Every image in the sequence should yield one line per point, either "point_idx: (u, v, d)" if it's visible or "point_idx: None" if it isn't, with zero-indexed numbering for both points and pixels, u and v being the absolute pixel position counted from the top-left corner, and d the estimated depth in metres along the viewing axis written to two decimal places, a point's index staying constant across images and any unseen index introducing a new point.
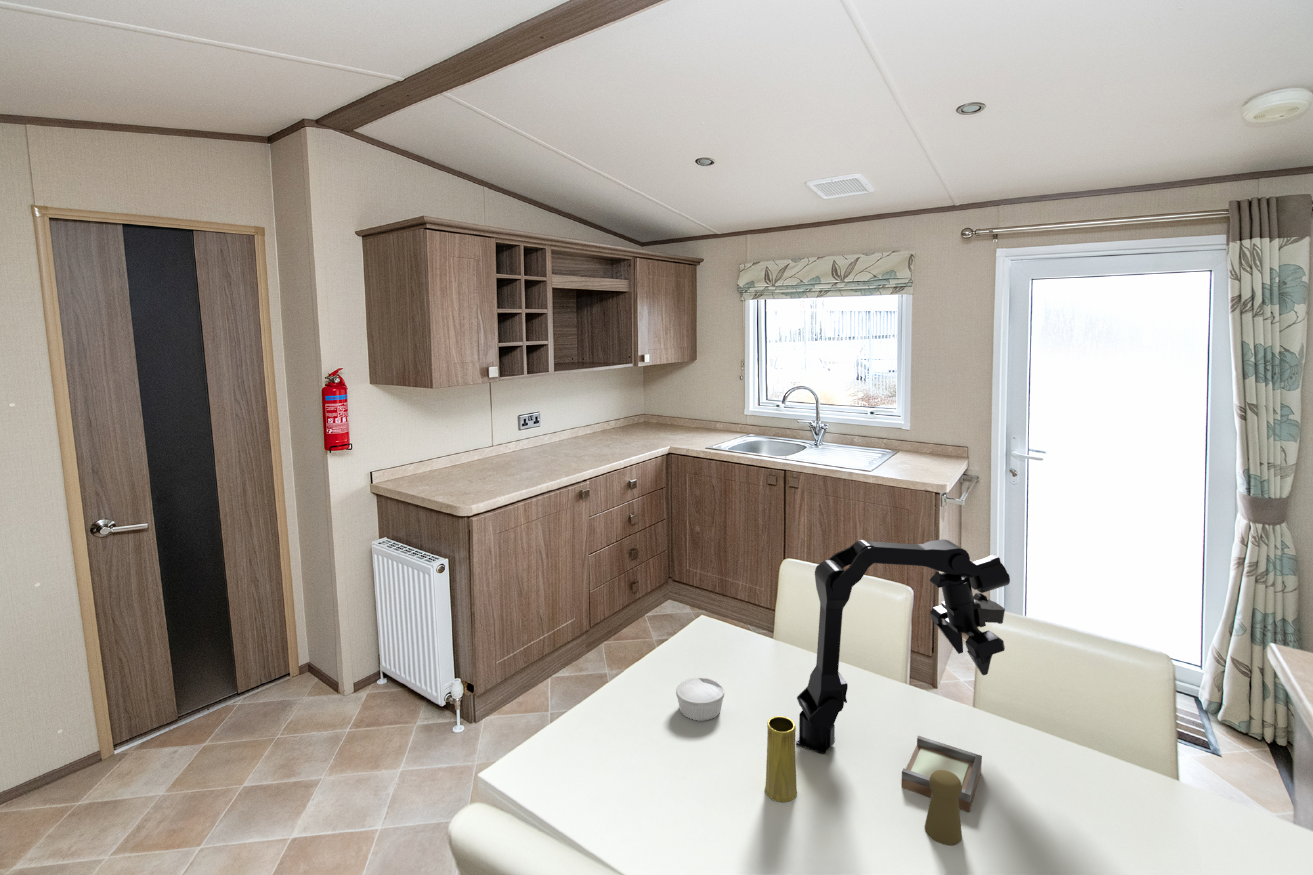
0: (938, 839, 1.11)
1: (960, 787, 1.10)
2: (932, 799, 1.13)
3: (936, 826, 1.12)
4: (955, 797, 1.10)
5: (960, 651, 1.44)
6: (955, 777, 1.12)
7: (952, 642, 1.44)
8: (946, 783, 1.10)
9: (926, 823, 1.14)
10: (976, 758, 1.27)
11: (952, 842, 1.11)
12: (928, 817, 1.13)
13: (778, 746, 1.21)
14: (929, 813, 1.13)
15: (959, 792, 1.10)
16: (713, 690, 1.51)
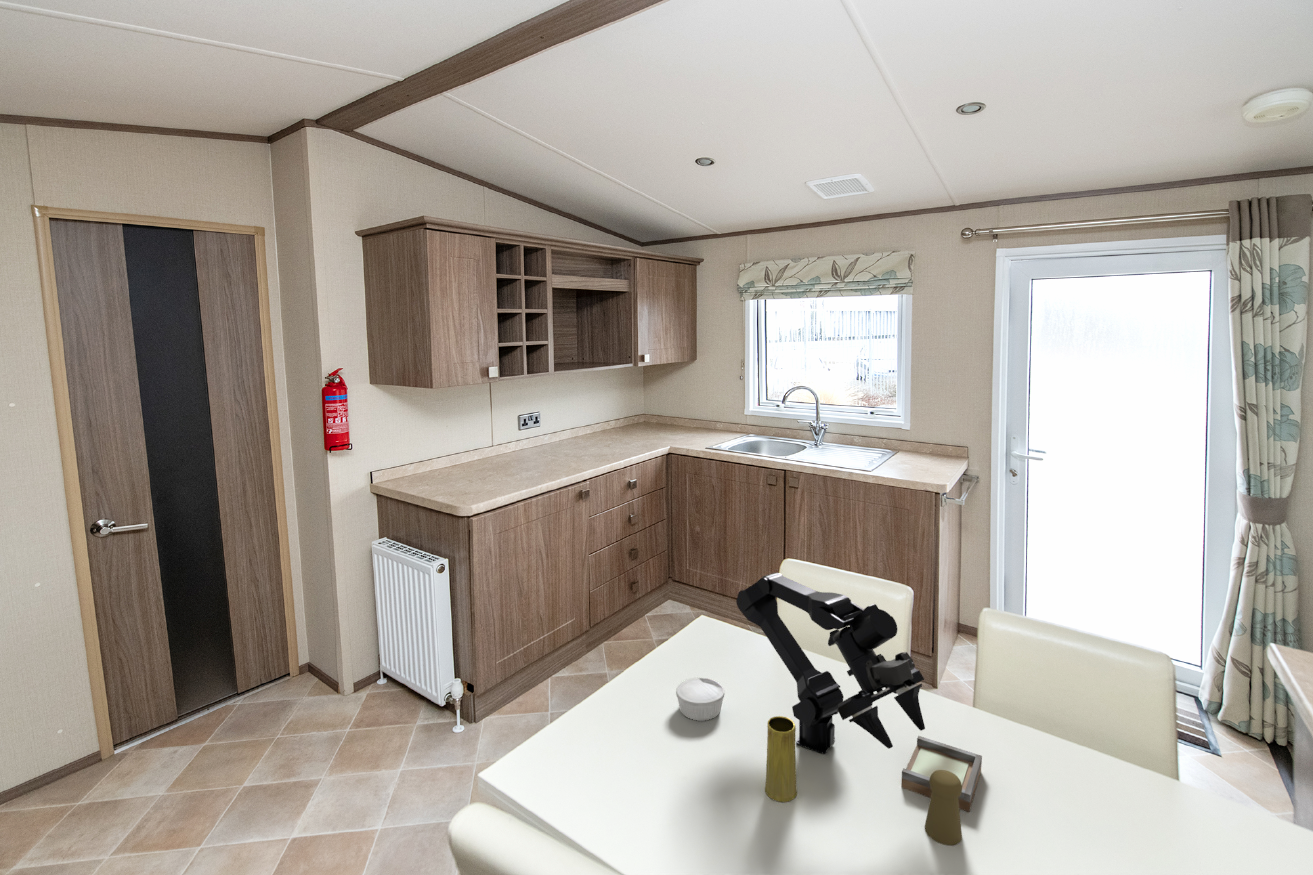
0: (938, 839, 1.11)
1: (960, 787, 1.10)
2: (932, 799, 1.13)
3: (936, 826, 1.12)
4: (955, 797, 1.10)
5: (920, 727, 1.21)
6: (955, 777, 1.12)
7: (909, 715, 1.23)
8: (946, 783, 1.10)
9: (926, 823, 1.14)
10: (976, 758, 1.27)
11: (952, 842, 1.11)
12: (928, 817, 1.13)
13: (778, 746, 1.21)
14: (929, 813, 1.13)
15: (959, 792, 1.10)
16: (713, 690, 1.51)
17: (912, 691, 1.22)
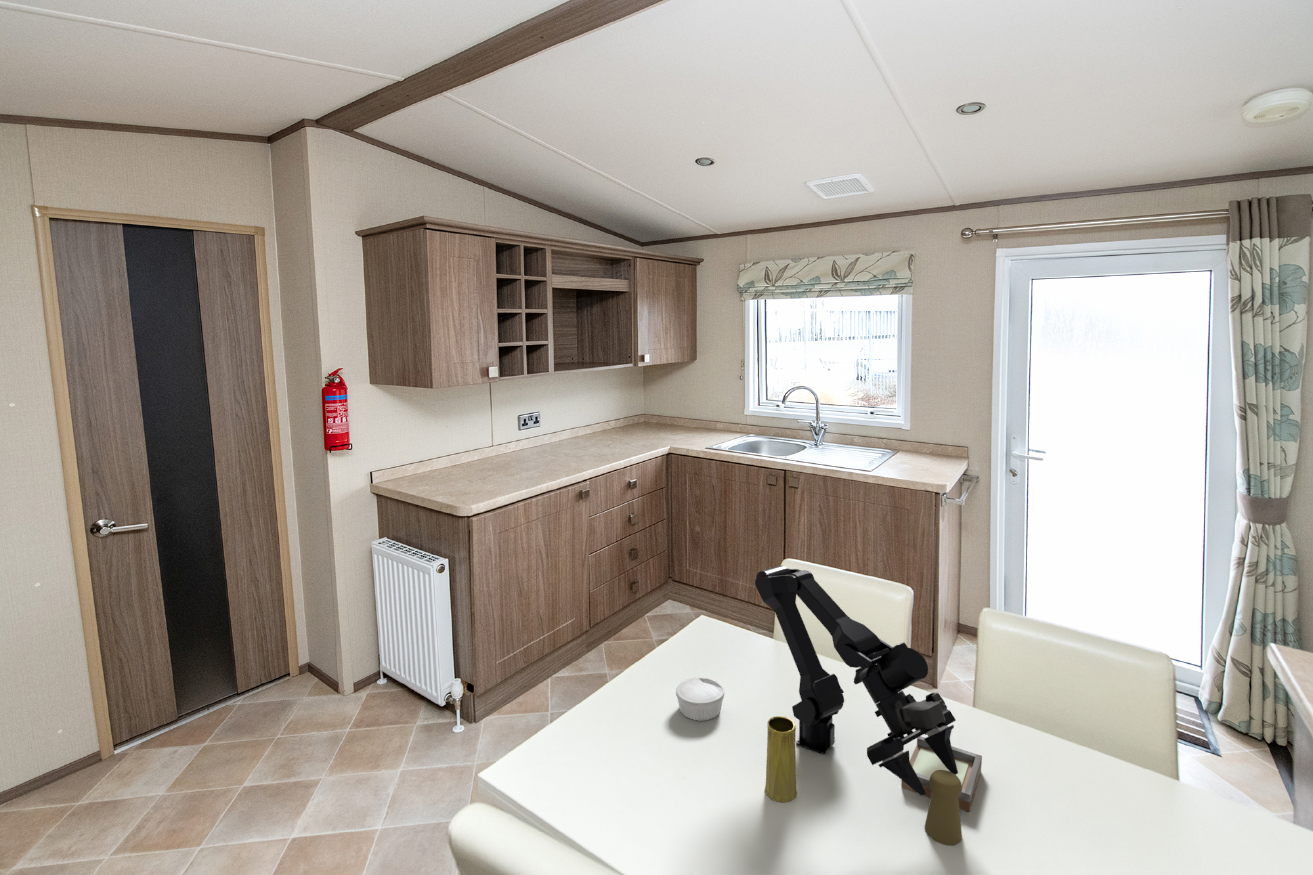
0: (938, 839, 1.11)
1: (960, 787, 1.10)
2: (932, 799, 1.13)
3: (936, 826, 1.12)
4: (955, 797, 1.10)
5: (953, 771, 1.16)
6: (955, 777, 1.12)
7: (940, 758, 1.18)
8: (946, 783, 1.10)
9: (926, 823, 1.14)
10: (976, 758, 1.27)
11: (952, 842, 1.11)
12: (928, 817, 1.13)
13: (778, 746, 1.21)
14: (929, 813, 1.13)
15: (959, 792, 1.10)
16: (713, 690, 1.51)
17: (944, 733, 1.17)
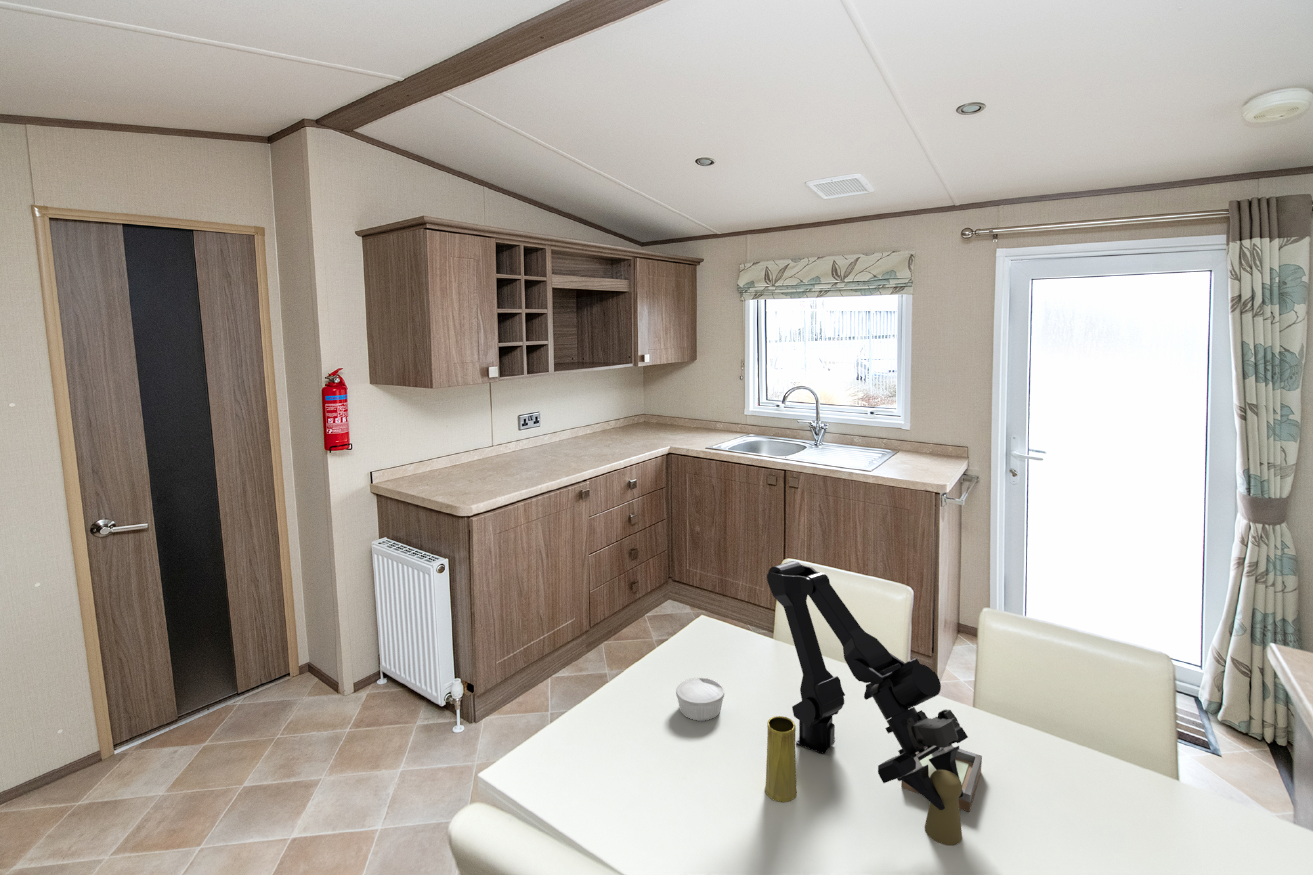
0: (938, 839, 1.11)
1: (960, 787, 1.10)
2: None
3: (936, 826, 1.12)
4: (955, 797, 1.10)
5: None
6: (955, 777, 1.12)
7: None
8: (946, 783, 1.10)
9: (926, 823, 1.14)
10: (976, 758, 1.27)
11: (952, 842, 1.11)
12: (928, 817, 1.13)
13: (778, 746, 1.21)
14: (929, 813, 1.13)
15: (959, 792, 1.10)
16: (713, 690, 1.51)
17: (949, 755, 1.15)
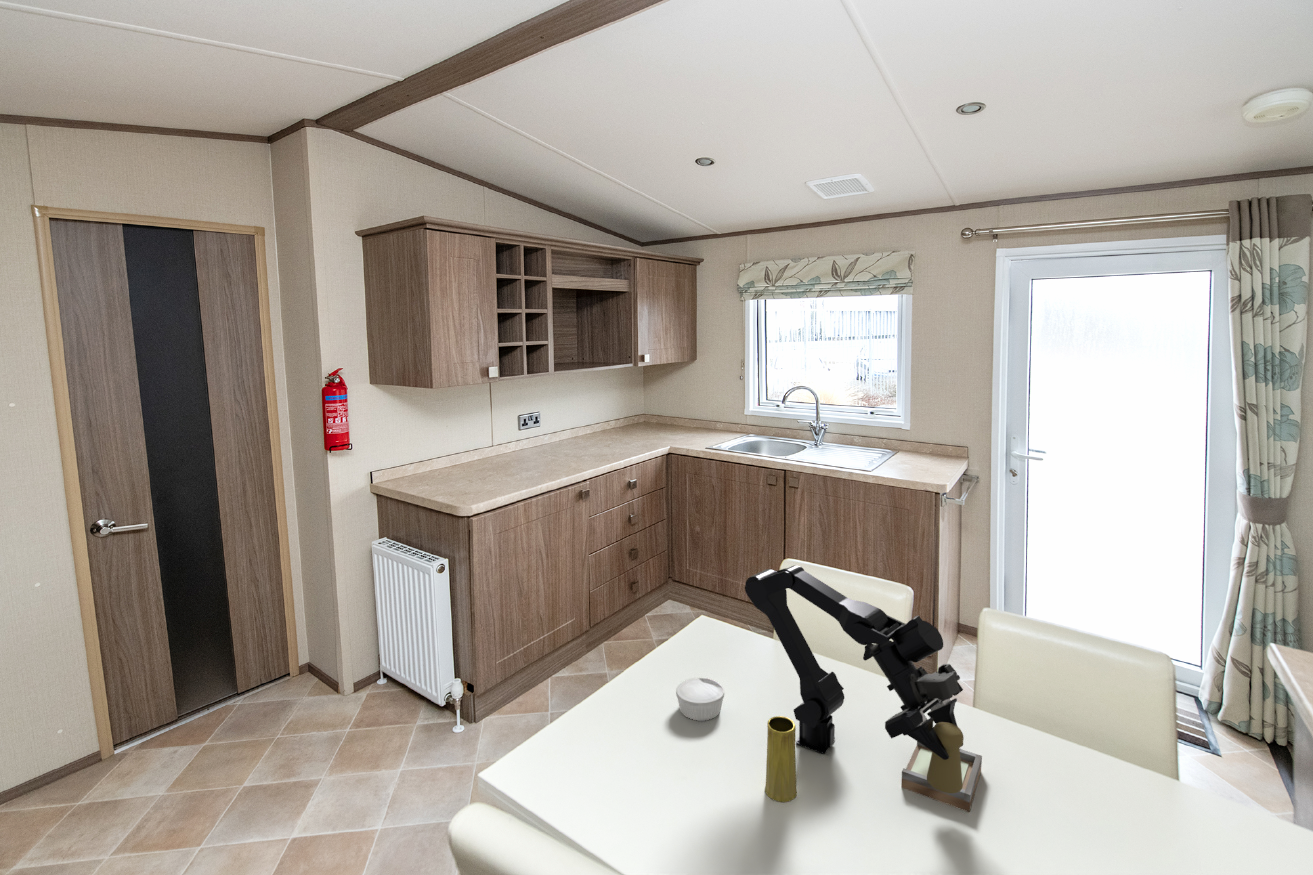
0: (942, 788, 1.16)
1: (962, 737, 1.15)
2: None
3: (940, 775, 1.16)
4: (958, 746, 1.14)
5: None
6: (957, 728, 1.16)
7: None
8: (949, 733, 1.15)
9: (929, 774, 1.18)
10: (976, 758, 1.27)
11: (955, 790, 1.15)
12: (931, 768, 1.18)
13: (778, 746, 1.21)
14: (932, 764, 1.17)
15: (962, 741, 1.15)
16: (713, 690, 1.51)
17: (949, 707, 1.19)
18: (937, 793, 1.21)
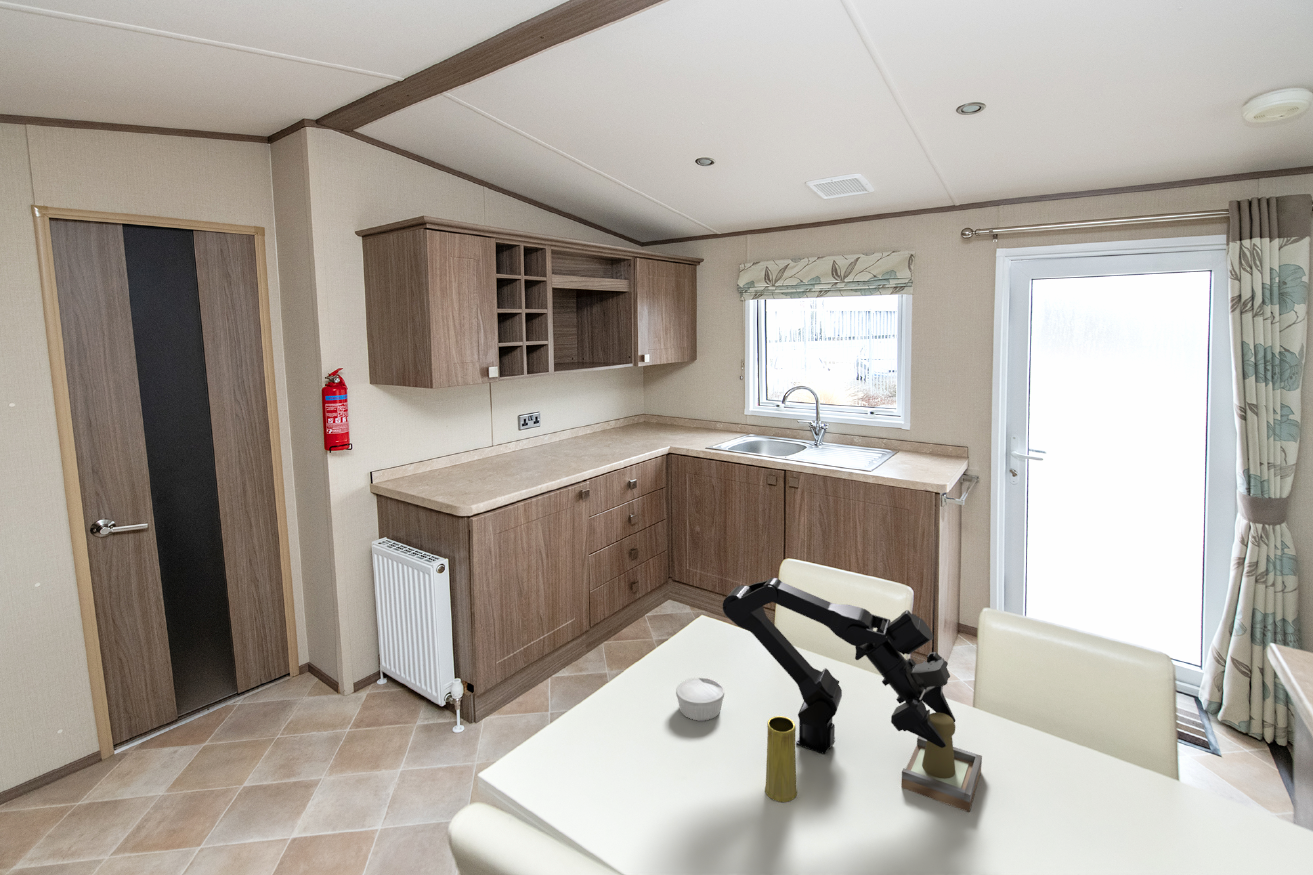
0: (940, 775, 1.24)
1: (954, 724, 1.24)
2: None
3: (938, 763, 1.24)
4: (953, 733, 1.23)
5: None
6: (948, 716, 1.25)
7: (937, 711, 1.30)
8: (945, 723, 1.23)
9: (926, 764, 1.26)
10: (976, 758, 1.27)
11: (951, 774, 1.24)
12: (928, 758, 1.25)
13: (778, 746, 1.21)
14: (929, 754, 1.25)
15: None
16: (713, 690, 1.51)
17: (939, 688, 1.29)
18: (937, 793, 1.21)
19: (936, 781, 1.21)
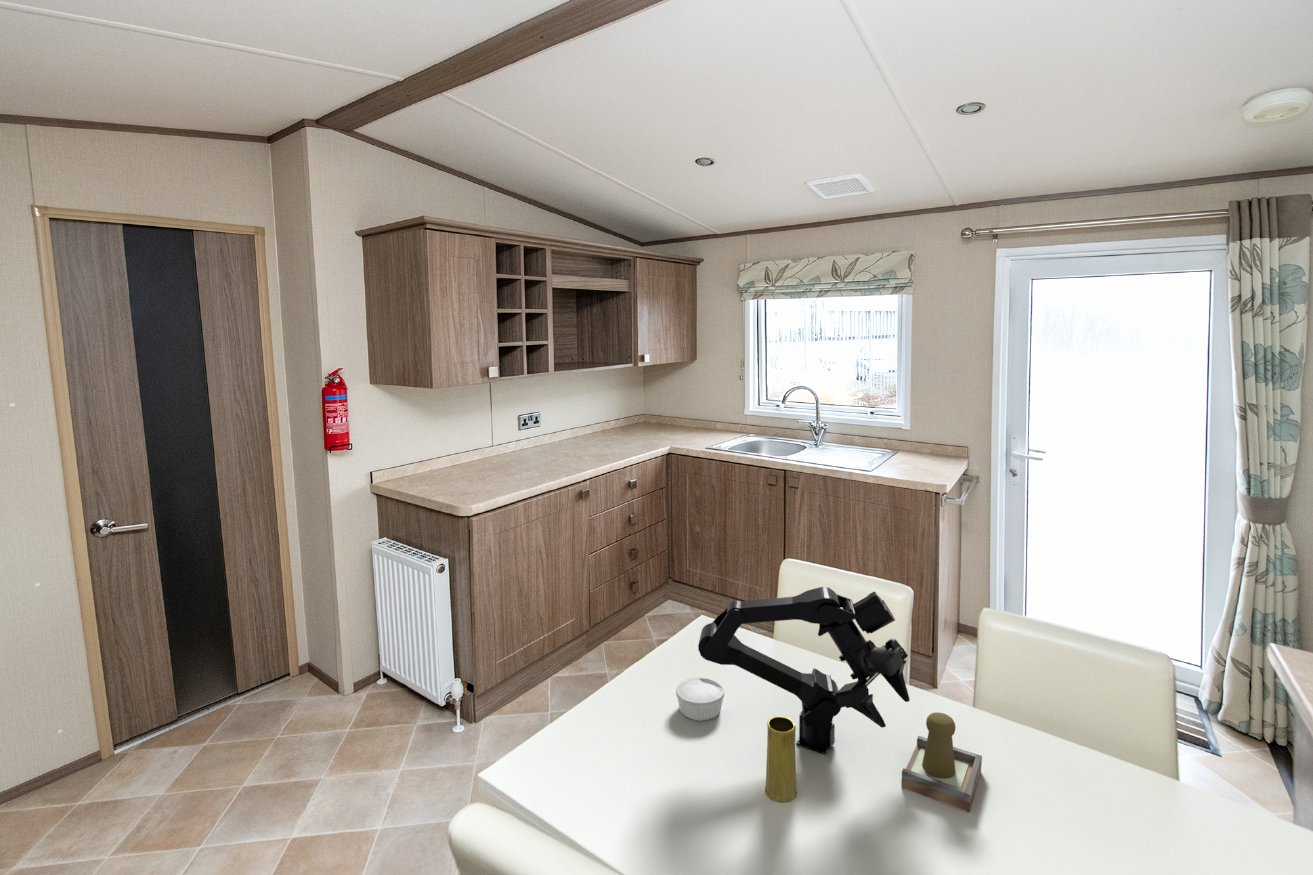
0: (940, 775, 1.24)
1: (954, 724, 1.24)
2: (931, 741, 1.25)
3: (938, 763, 1.24)
4: (953, 733, 1.23)
5: (905, 699, 1.33)
6: (948, 716, 1.25)
7: (894, 688, 1.35)
8: (945, 723, 1.23)
9: (926, 764, 1.26)
10: (976, 758, 1.27)
11: (951, 774, 1.24)
12: (928, 758, 1.25)
13: (778, 746, 1.21)
14: (929, 754, 1.25)
15: None
16: (713, 690, 1.51)
17: (898, 669, 1.33)
18: (937, 793, 1.21)
19: (936, 781, 1.21)
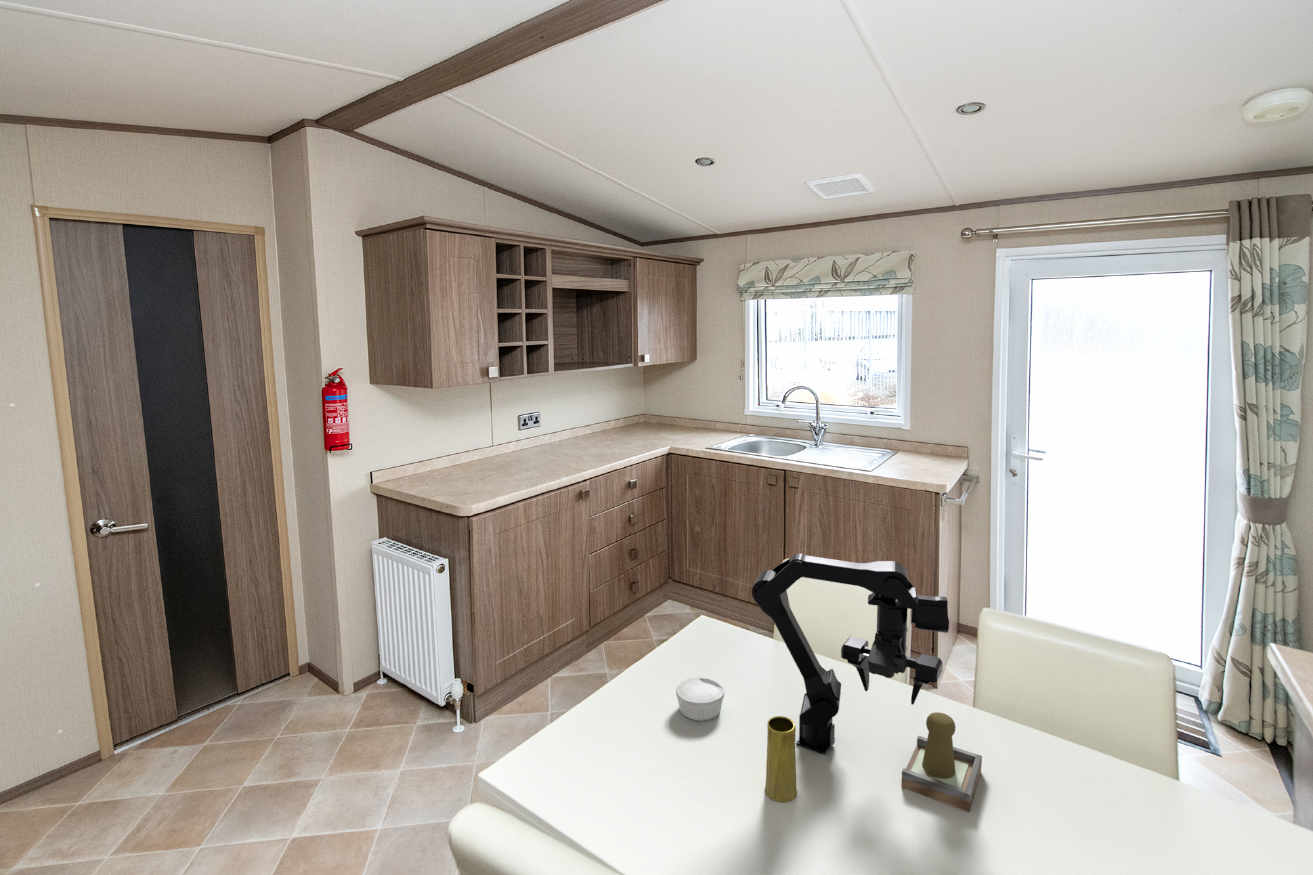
0: (940, 775, 1.24)
1: (954, 724, 1.24)
2: (931, 741, 1.25)
3: (938, 763, 1.24)
4: (953, 733, 1.23)
5: None
6: (948, 716, 1.25)
7: None
8: (945, 723, 1.23)
9: (926, 764, 1.26)
10: (976, 758, 1.27)
11: (951, 774, 1.24)
12: (928, 758, 1.25)
13: (778, 746, 1.21)
14: (929, 754, 1.25)
15: None
16: (713, 690, 1.51)
17: None
18: (937, 793, 1.21)
19: (936, 781, 1.21)
